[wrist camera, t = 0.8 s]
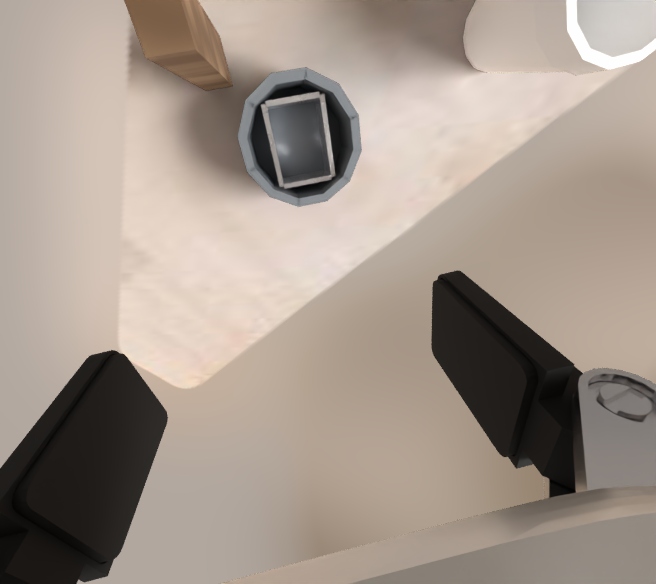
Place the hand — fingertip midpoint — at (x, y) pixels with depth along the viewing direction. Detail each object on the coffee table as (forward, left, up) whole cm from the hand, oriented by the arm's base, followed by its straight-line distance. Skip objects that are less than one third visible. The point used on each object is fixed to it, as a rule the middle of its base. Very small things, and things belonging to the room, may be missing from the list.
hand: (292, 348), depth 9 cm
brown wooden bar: (-11, -3, -26) cm, 28 cm away
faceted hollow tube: (-4, +3, -26) cm, 26 cm away
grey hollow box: (-4, +3, -26) cm, 26 cm away
